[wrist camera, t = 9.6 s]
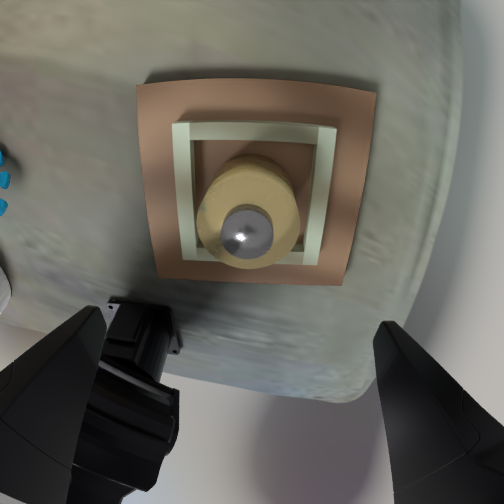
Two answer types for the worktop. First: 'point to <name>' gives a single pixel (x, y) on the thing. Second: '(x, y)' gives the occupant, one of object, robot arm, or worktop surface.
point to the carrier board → (263, 143)
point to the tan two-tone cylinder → (249, 213)
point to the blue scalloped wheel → (3, 184)
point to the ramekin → (4, 290)
